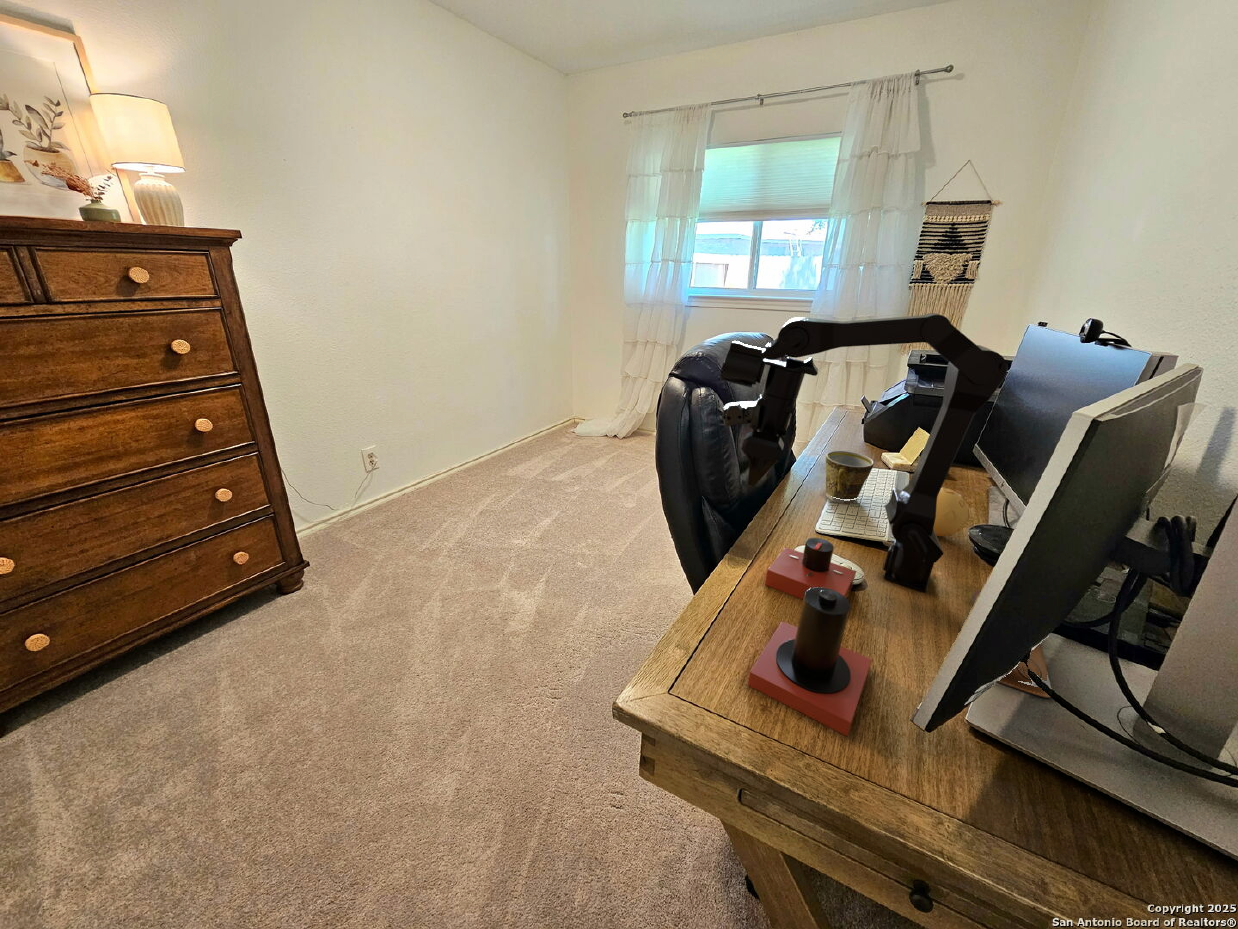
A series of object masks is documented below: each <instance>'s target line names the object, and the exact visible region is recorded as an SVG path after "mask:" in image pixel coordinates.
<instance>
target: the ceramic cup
mask: <svg viewBox="0 0 1238 929" xmlns="http://www.w3.org/2000/svg"><path fill="white" fill-rule="evenodd" d="M874 465H875V461H874V460H873V459H872V458H871V457H869V456H867V455H865V454H861V453H858V452H853V451H847V450H833V451H830V452H829V451H828V452H827V453H826V455H825V497H827V498H828V499H829V500H830V501H832V502H833V503H837V504H842V505H852V504H855V503H856V501H858V498H857V497H859V496H860V494H861V491H862V489H863V487H864V485H865V483H866V481H867V479H868V478H869V476H870V474H871V471H872V469H873V467H874ZM831 496H832V497H831ZM833 497H836V498H840V499H854V498H857V499H856V500H850V501H844V500H840V499H836V498H833Z"/></svg>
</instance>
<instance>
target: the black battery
mask: <svg viewBox="0 0 1238 929" xmlns="http://www.w3.org/2000/svg"><path fill="white" fill-rule="evenodd" d="M850 612H851V602H850V601H849V599H848V597H847V598H846V597H844V596H843V595H842V594H840V593H839V592H837V591H834V590H832V589H828V588H823V587H814V588H810V589H808V590H807V591H806V592H805V594H804V599H802V604H801V610H800V614H799V619H798V624H797V633H796V638H795V643H794V648H793V652H792V663H793V665H794V666H795V668H796V669H797V670H798V671H799V672H801V673H802V674H804V675H806V676H808V677H810V678H814V679H827V678H829V677H831V676H832V675H833V674H834V671H835V667H836V663H837V659H838V655H839V651H840V647H841V646H842V643H843V640H844V635H845V631H846V627H847V624H848V619H849V615H850Z"/></svg>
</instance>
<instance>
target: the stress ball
mask: <svg viewBox="0 0 1238 929" xmlns="http://www.w3.org/2000/svg"><path fill="white" fill-rule="evenodd" d="M969 519H970V507H969V506H968V504H967V502H966V499H965V498H964V497H963V496H962V494H959V493H958V492H956V491H955V490H953V489H951V488H948V487H941V489H940V492H939V494H938V497H937V506H936V518H935V523H934V528H933V529H934V531H935V534H936V536H937V537H949V536H951V535H954V534H956V533H958V532H961V531H963V530H964V529H965V527H966V524H967V522H968V520H969Z"/></svg>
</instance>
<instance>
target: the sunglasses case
mask: <svg viewBox="0 0 1238 929" xmlns="http://www.w3.org/2000/svg"><path fill="white" fill-rule="evenodd" d="M981 589H982V588H981ZM981 589H978V590H976V591H975V592H974V593H973V594H972V595H971V596H972V597H971V599H972V600H971V602H972V606H973V605H974V603H975V600H976V598H977V596H978V595H979V593H980V592H981ZM1027 665H1028V667H1027V666H1026V664H1025V663H1024V662H1020V663H1019V664H1018V666H1017V667H1016V668H1015V669H1013V670H1012V672H1011V673H1010V674H1008V675H1006V677H1004V678H1002V679H1001V680H1000V681H998V682H997V683H998V684H1001V685H1003V686H1004V687H1005V686H1006V687H1009V688H1011V689H1014V690H1017V691H1020V692H1023V693H1025V694H1026V693H1027V694H1030V695H1034V696H1036V697H1041V698H1045V699H1052V698H1051V697H1050V696H1049V695H1048V694H1047V693H1046V692H1045V691H1043V690H1042V688H1039V687H1034V686H1031V685H1027V684H1024V683H1021V682H1018V681H1023V682H1029V683H1031V684H1032V681H1031V679H1030V676H1029V675H1028V669H1030V671H1032V672H1034V673H1035V674H1036V675H1038V676H1039V677H1040V678H1042V680H1044V681H1047V675H1048V674H1049V673H1048V674H1047V670H1048V667H1047V663H1046V660H1045V656H1044V652H1043V647H1042V643H1041V644H1039V645H1038V646H1037V647H1036V648H1035V649H1034V650H1032V651H1031V654H1030V659H1029V660H1028V662H1027ZM1051 688H1052V689H1053V684H1051Z"/></svg>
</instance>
